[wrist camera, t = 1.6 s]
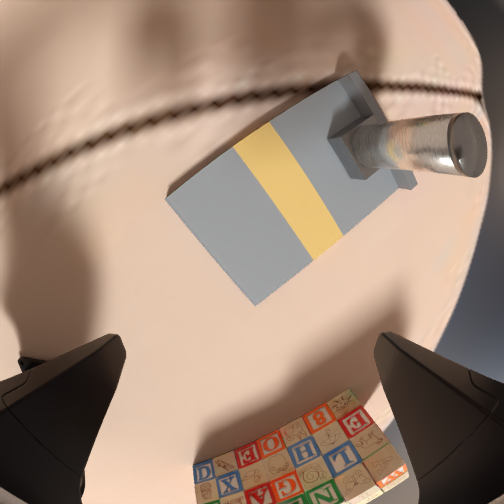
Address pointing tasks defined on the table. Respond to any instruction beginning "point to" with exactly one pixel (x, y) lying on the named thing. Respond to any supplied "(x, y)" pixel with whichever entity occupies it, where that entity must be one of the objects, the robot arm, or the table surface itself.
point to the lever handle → (413, 145)
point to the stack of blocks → (307, 462)
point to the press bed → (285, 191)
